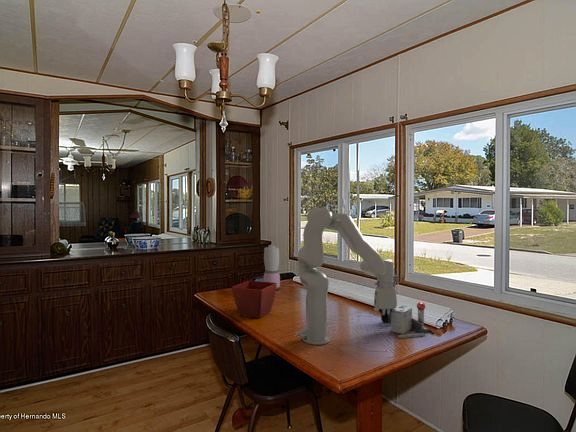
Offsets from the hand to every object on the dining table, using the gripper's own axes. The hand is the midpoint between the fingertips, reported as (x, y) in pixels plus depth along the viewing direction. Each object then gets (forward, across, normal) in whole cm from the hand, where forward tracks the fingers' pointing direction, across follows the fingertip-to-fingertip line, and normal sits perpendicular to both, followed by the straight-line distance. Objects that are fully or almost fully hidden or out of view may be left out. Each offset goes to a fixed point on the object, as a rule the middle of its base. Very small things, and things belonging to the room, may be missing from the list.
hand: (384, 322), depth 170 cm
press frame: (+4, +9, +3) cm, 10 cm away
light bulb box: (+5, +9, +1) cm, 10 cm away
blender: (+5, -40, +101) cm, 109 cm away
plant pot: (+5, -59, +40) cm, 72 cm away
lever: (+4, +19, -1) cm, 19 cm away
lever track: (+4, +19, +2) cm, 19 cm away
